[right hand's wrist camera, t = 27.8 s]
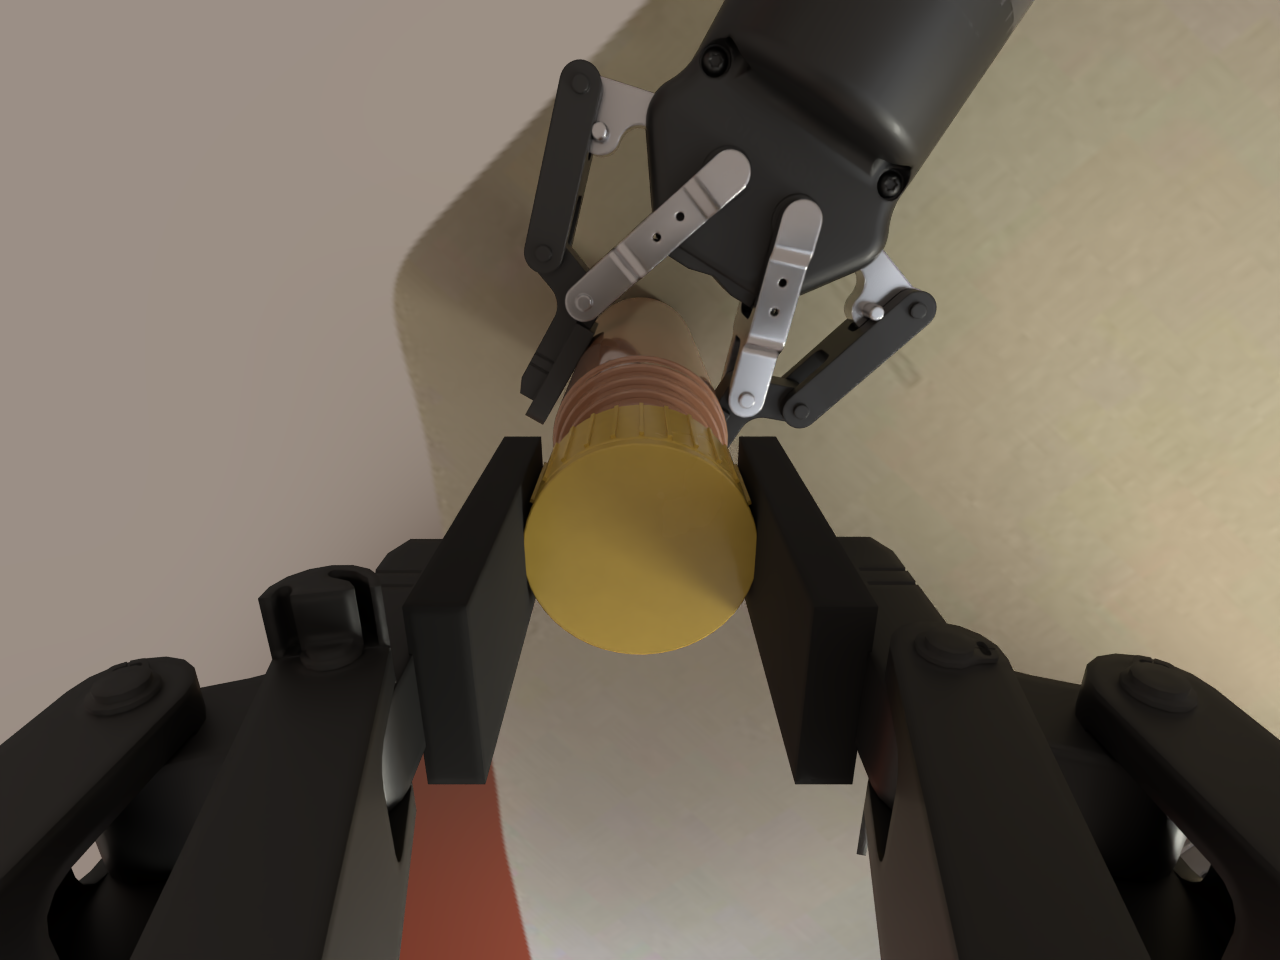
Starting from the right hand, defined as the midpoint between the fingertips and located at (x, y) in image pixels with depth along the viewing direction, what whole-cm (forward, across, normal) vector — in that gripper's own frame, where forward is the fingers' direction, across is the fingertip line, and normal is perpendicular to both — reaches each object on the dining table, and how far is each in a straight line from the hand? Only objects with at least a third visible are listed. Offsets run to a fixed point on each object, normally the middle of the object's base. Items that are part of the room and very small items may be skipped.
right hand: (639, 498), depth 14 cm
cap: (-2, 0, 0) cm, 2 cm away
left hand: (+10, -1, -2) cm, 10 cm away
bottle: (+17, 0, 0) cm, 17 cm away
